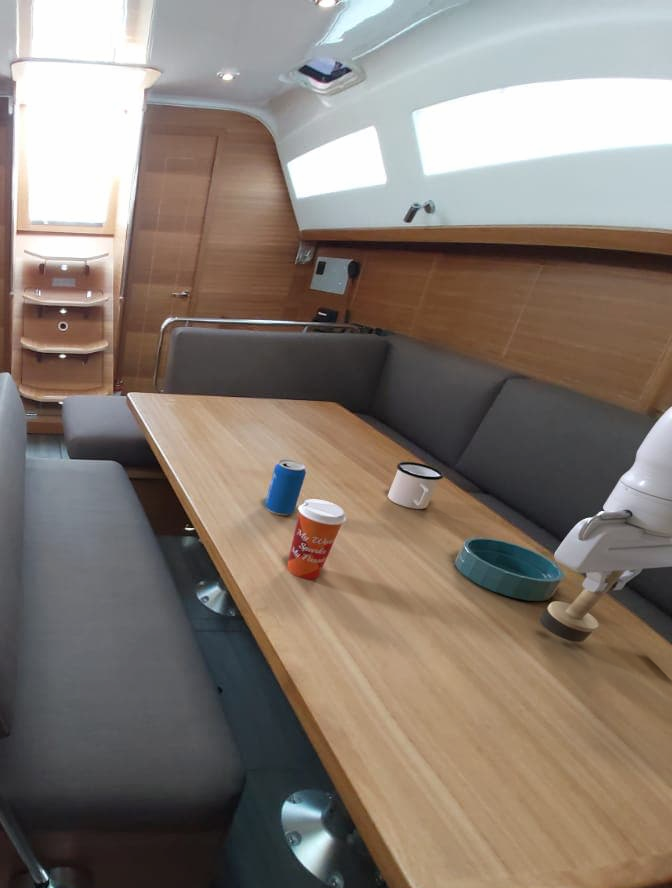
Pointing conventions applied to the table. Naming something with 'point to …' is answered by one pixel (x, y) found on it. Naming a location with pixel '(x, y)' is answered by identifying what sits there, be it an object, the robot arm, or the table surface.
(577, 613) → the wooden peg on disc
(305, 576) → the paper cup
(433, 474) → the mug
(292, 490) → the beverage can
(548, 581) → the bowl
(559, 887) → the table surface
